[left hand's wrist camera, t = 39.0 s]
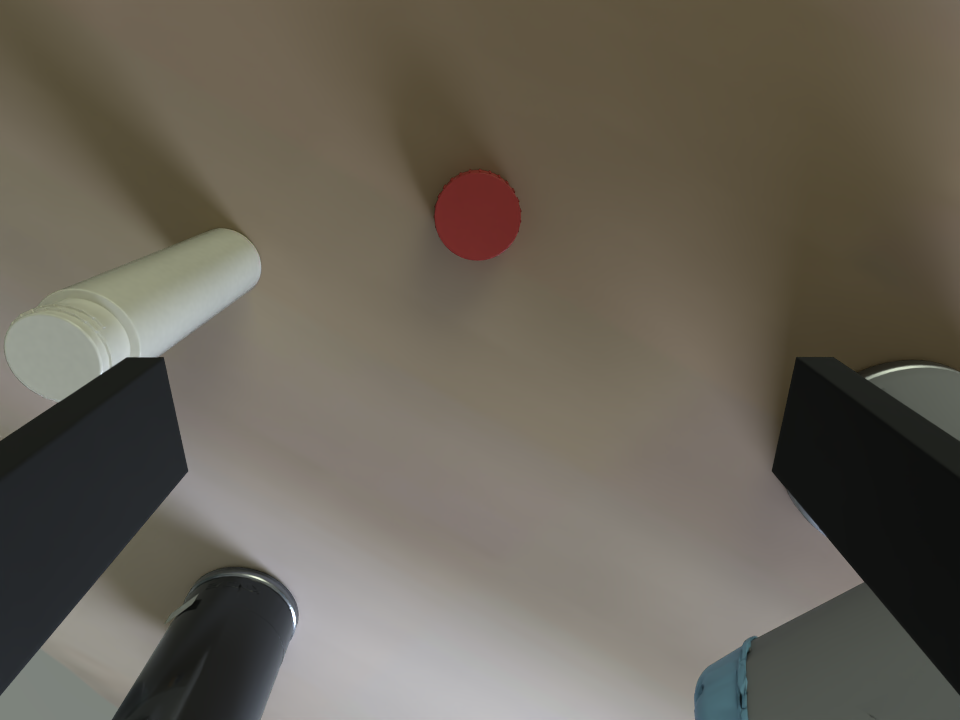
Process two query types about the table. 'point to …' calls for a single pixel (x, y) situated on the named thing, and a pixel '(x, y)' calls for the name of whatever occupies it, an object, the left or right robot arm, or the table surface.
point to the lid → (477, 215)
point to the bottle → (129, 311)
